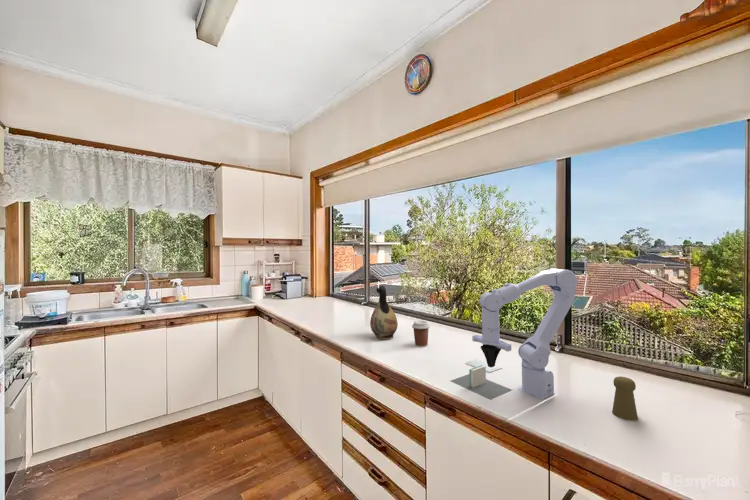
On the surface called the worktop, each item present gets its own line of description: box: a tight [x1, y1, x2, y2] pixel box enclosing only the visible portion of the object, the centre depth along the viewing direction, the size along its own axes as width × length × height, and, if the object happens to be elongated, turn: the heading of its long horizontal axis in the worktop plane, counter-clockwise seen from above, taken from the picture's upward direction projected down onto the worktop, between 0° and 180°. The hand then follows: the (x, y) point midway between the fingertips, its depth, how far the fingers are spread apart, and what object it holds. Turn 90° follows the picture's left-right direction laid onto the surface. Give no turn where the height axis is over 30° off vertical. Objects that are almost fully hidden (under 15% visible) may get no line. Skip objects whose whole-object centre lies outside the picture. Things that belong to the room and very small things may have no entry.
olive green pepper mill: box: [611, 376, 639, 422], centre depth 94 cm, size 6×6×11 cm
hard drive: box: [465, 358, 503, 374], centre depth 133 cm, size 2×8×12 cm
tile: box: [468, 365, 487, 387], centre depth 116 cm, size 2×7×6 cm, turn 123°
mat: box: [450, 373, 513, 401], centre depth 115 cm, size 18×12×1 cm, turn 33°
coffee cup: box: [411, 320, 431, 348], centre depth 164 cm, size 9×9×12 cm
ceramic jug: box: [369, 285, 398, 341], centre depth 178 cm, size 17×15×30 cm
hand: (491, 366), depth 110 cm, fingers closed
